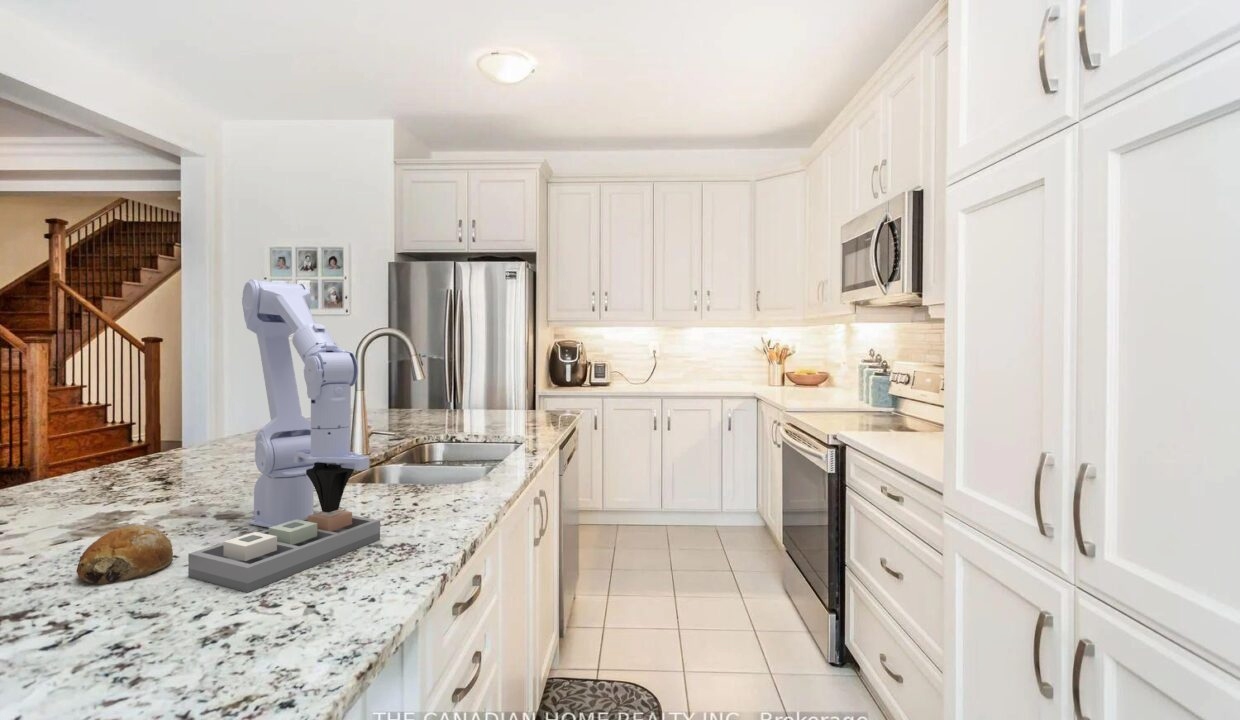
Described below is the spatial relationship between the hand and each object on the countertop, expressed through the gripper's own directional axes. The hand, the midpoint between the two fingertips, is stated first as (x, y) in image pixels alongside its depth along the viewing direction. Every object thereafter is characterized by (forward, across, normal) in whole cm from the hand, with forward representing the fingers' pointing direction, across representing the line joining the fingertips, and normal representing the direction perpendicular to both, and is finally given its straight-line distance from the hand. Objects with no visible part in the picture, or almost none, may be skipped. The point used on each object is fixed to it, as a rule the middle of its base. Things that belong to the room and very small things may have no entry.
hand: (330, 510), depth 90 cm
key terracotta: (+2, 0, 0) cm, 2 cm away
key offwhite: (+3, 0, -13) cm, 13 cm away
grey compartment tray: (+5, 0, -6) cm, 8 cm away
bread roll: (+6, -16, -20) cm, 26 cm away
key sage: (+2, 0, -6) cm, 7 cm away
